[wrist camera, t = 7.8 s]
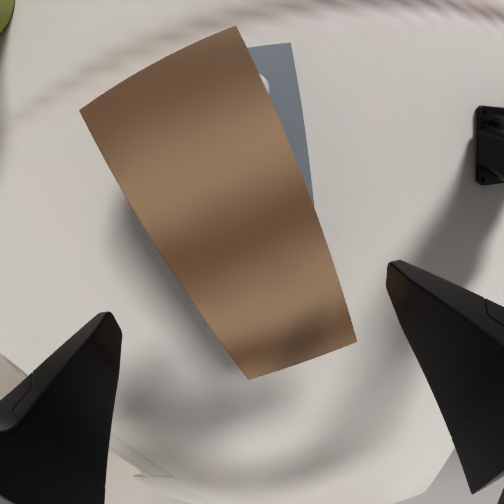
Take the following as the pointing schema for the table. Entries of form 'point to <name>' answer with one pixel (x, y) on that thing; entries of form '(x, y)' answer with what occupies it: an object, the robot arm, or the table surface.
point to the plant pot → (5, 12)
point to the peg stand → (285, 98)
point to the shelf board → (225, 202)
